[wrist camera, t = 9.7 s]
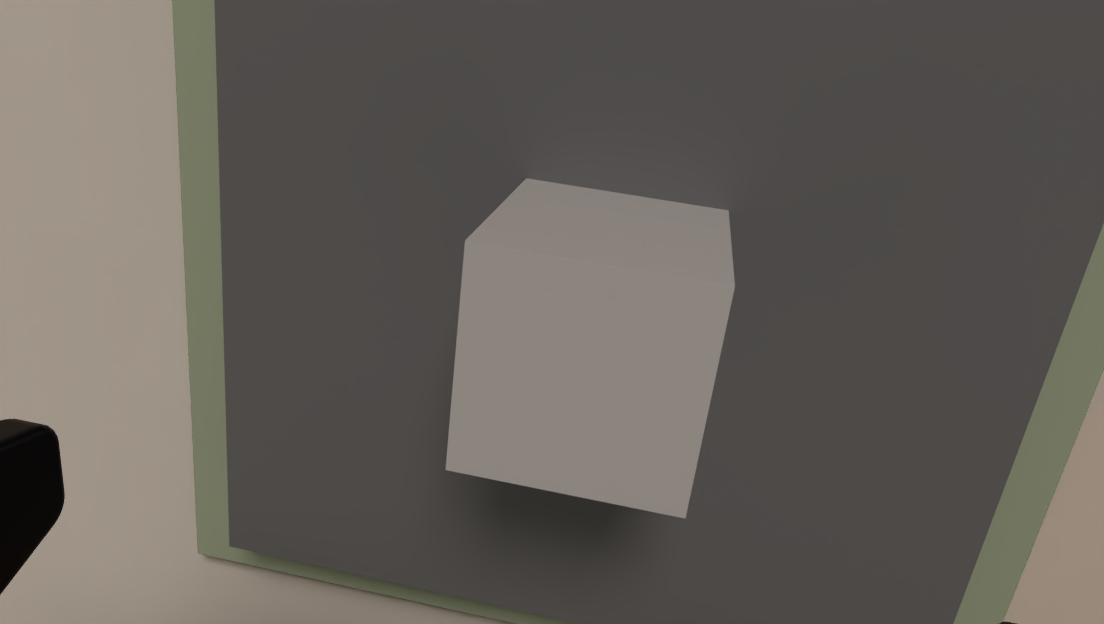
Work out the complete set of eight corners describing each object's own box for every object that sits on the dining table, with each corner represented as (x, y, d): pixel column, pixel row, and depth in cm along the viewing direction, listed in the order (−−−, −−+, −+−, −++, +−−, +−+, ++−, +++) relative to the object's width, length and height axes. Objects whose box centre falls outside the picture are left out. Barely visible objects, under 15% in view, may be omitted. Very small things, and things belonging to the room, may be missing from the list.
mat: (1325, -226, 12) (1344, -233, 12) (957, 707, 19) (962, 722, 18) (170, -329, 14) (156, -338, 14) (206, 543, 21) (197, 553, 21)
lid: (1190, -121, 13) (1485, -190, 8) (911, 656, 18) (984, 895, 13) (246, -221, 14) (14, -329, 10) (255, 515, 20) (112, 681, 15)
